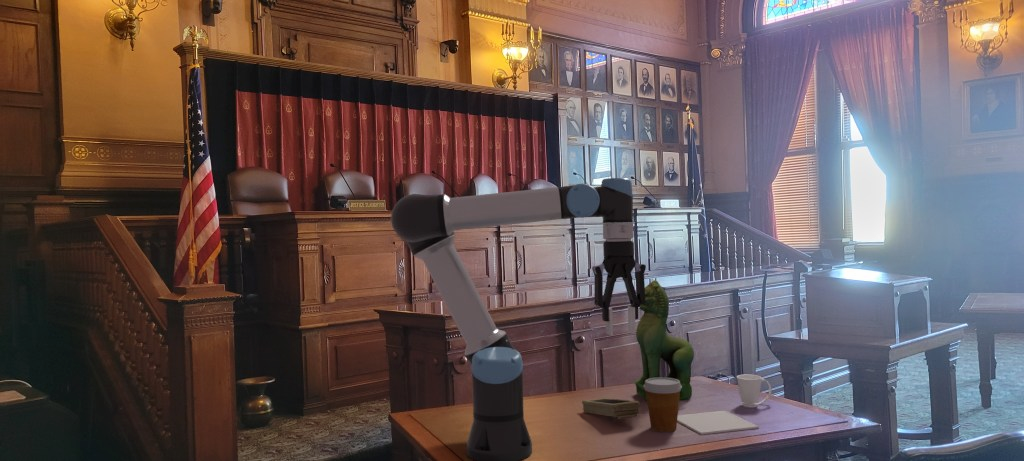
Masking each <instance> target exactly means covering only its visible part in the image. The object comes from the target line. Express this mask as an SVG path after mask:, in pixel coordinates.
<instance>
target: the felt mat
mask: <svg viewBox="0 0 1024 461" xmlns="http://www.w3.org/2000/svg"><path fill="white" fill-rule="evenodd" d="M677 423H679V424H681V425H683V426H684V427H686V428H688V429H690V430H692V431H694V432H695V433H697V434H699V435H700V436H702V435H703V436H704V435H710V434H721V433H728V432H730V433H731V432H737V431H746V430H747V431H748V430H754V429H755V430H756V429H759V425H757V424H754V423H752V422H750V421H748V420H746V419H743V418H741V417H739V416H737V415H735V414H733V413H730V412H729V411H726V410H719V411H718V410H717V411H716V410H715V411H707V412H698V413H689V414H678V417H677Z"/></svg>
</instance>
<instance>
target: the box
mask: <svg viewBox="0 0 1024 461" xmlns="http://www.w3.org/2000/svg"><path fill="white" fill-rule="evenodd" d="M581 404H582V408H583V409H582V410H583V413H586V414H592V415H593V414H595V415H599V416H600V415H602V416H607V417H612V418H611V421H616V420H621V419H627V418H628V419H630V418H636V417H638V414H639V413H640V411H639V410H640V409H639V406H640V401H637V400H631V399H630V400H629V399H619V398H607V397H606V398H597V399H587V400H582V401H581Z"/></svg>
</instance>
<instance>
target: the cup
mask: <svg viewBox="0 0 1024 461" xmlns="http://www.w3.org/2000/svg"><path fill="white" fill-rule="evenodd" d="M736 380H737V385H738V390H739V391H738V392H739V393H738V394H739V396H740V399H741V402H742V403H741V406H742V407H746V408H757V407H758V406H760V405H762V404H763V403H765V402H766V401H767V400H768V399H769V398H770V397H771V395H772V391H773V390H772V387H771V386H772V385H771V382H769V381H768V379H765V378H762V377H761V375H756V374H747V373H746V374H744V373H743V374H739V375H736ZM763 382H766V383H767V384H768V385H767V386H768V389H769V391H768V394H767V395H766V396H765V397H764V398H763V399H762V400H761V401H759V399H760V393H761V386H762V383H763Z"/></svg>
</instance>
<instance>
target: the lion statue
mask: <svg viewBox="0 0 1024 461" xmlns="http://www.w3.org/2000/svg"><path fill="white" fill-rule="evenodd" d="M669 303H670V302H669V297H668V294H667V292H666V291H665V289H664V288H663V286H662V285H660V283H659V281H658V280H657V279H654V280H652V281H651V282H649V283H648V284H647V285H646V286H645V303H644V304H641V305H640V306H639V307H638V309H640V311H642V312H643V314H642V316H641V317H640V320H639V322H638V324H637V326H636V334H635V336H636V341H637V343H638V344H639V345H638V346H639V349H640V355H641V362H642V376H641V378H640V379H639V380H636V381H635V382H634V385H635V386H636V389H635V390H636V395H639V396H641V397H642V398H644V399H645V400H646V401H647V397H646V390H645V388H644V385H645V381H646V380H647V379H650V378H661V376H660V375H661V374H660V373H661V372H660V365H661V359H662V360H663V361H664V362H665V363H666V364H667V366H668V368H669V372H668V375H666V376H665V377H664V378H673V379H677V380H679V381H680V384H681V386H682V388H681V391H680V397H679V402H680V401H688V400H690V399H691V398H692V395H693V391H692V390H693V387H692V385H691V378H692V377H691V375H692V374H691V371H692V370H691V369H692V362H693V361H694V358H695V351H694V348H693V346H692V344H691V343H690V342H689V341H688V340H687V339H684V338H681V337H677V336H676V337H673V336H670V335H669V334H668V333H667V322H668V318H669V308H670V307H669V306H670V304H669Z"/></svg>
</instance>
